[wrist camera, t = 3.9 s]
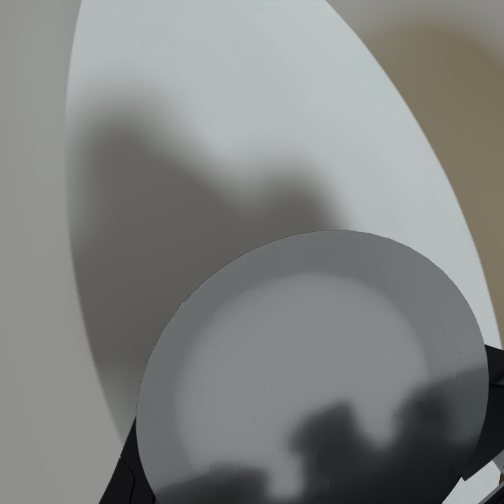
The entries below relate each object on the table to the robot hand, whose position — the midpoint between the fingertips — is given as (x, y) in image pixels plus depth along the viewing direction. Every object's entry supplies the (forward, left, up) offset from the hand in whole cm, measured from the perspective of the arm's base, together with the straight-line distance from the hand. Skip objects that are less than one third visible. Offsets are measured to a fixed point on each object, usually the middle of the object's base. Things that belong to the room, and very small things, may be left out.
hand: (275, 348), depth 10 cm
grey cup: (-1, 0, -7) cm, 7 cm away
